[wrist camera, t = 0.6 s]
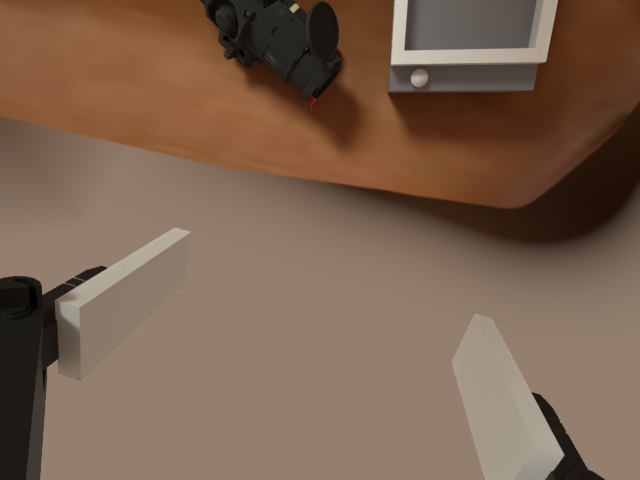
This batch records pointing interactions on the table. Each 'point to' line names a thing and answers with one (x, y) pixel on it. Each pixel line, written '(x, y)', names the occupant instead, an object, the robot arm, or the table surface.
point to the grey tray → (468, 45)
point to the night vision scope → (281, 40)
